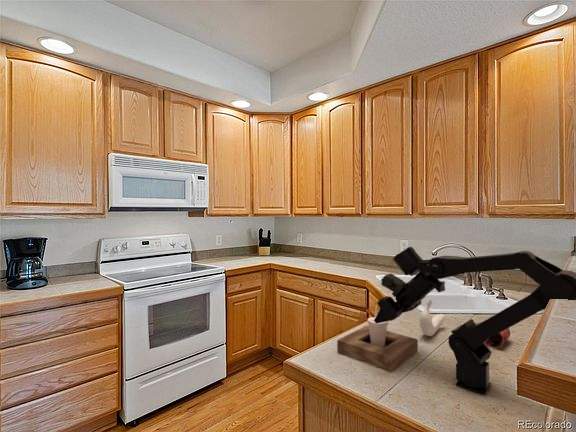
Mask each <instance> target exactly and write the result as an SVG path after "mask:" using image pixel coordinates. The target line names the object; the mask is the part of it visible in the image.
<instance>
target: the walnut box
mask: <svg viewBox="0 0 576 432" xmlns="http://www.w3.org/2000/svg"><path fill="white" fill-rule="evenodd" d="M336 341H337V342H336V343H337V344H336V346H337V348H336V349H337V351H336V352H337V354H340V355H343V356H345V357H349V358H351V359H354V360H356V361H359V362H362V363H365V364H367V365H370V366H374V367H376V368H378V369H381V370H384V371H386V372H390V373H393V372H394V371H395V370H397V369H398V368H399V367H400V366H401V365H403V364H404V363H405V362H407V361H408V360H410V359H411V358H412V357H413V356H414V355H416V353H418V344H419V343H418V342H419V341H418V339H417V338H415V337H410V336H408V335H407V336H406V335H403V334H400V333H397V332H392V331H388V330H387V331H386V339H385V347H384V348H382V347H379V346H376V345H373V344H371V340H370V332H369V325H364V326H363V327H360V328H359V329H357V330H354V331H353V332H351V333H349V334H347V335H345V336H343V337H340V338H339V339H337V340H336Z"/></svg>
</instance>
